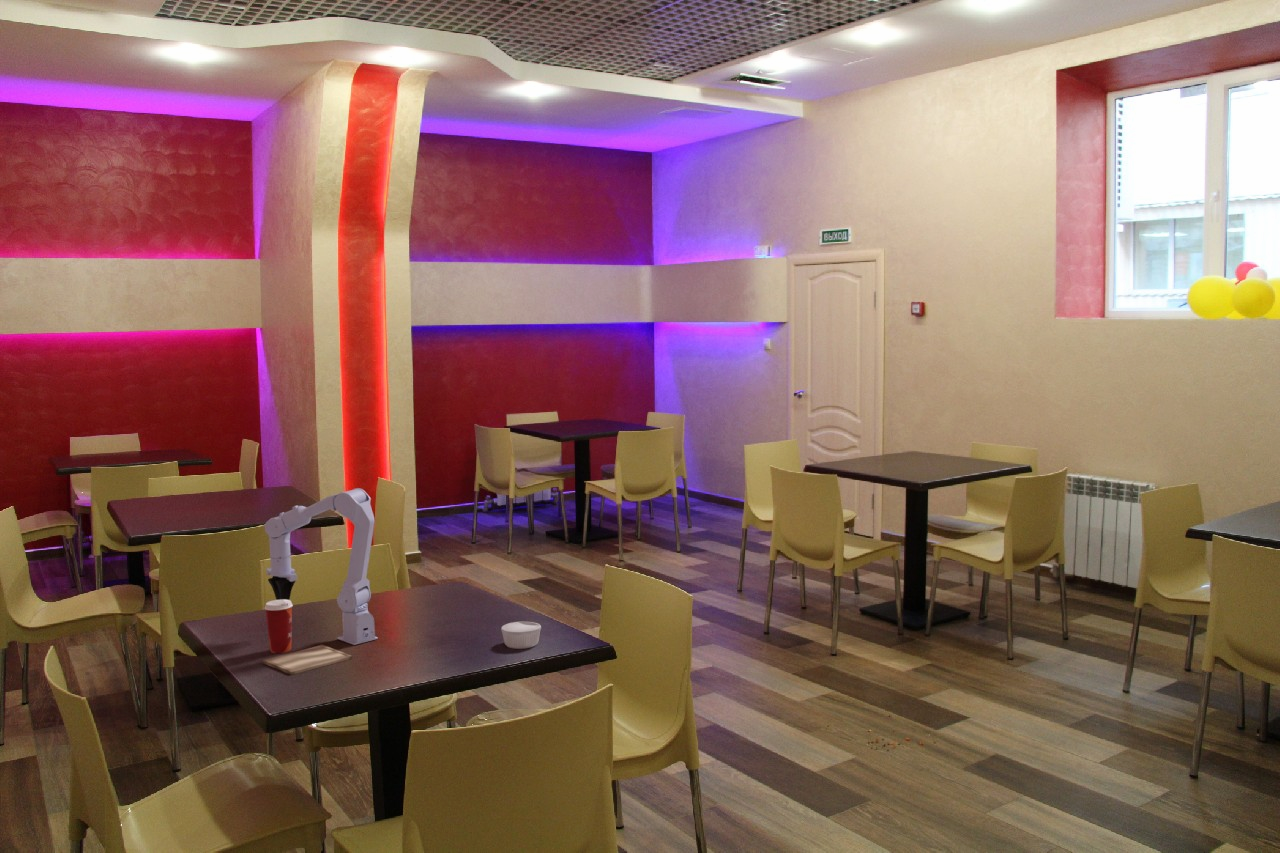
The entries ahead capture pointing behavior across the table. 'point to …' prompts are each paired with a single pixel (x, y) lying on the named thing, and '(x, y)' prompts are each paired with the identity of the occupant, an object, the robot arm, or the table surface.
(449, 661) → the table surface
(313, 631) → the table surface
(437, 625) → the table surface
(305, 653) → the birch board
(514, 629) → the ramekin
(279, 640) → the paper cup
